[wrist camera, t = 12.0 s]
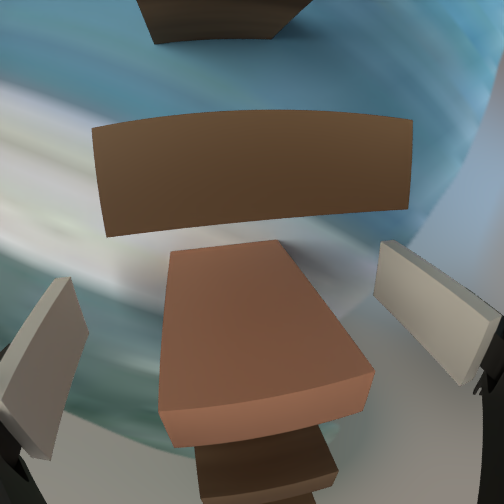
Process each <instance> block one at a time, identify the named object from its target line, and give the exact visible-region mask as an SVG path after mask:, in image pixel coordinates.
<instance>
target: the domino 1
mask: <svg viewBox="0 0 504 504" xmlns="http://www.w3.org/2000/svg"><path fill="white" fill-rule="evenodd" d="M136 1H137V3H138V6H139V8H140V10H141V13H142V15H143V18H144V20H145V23H146V25H147V28H148V30H149V32H150V35H151V37H152V40H153V42H154V44H161V43H170V42H180V41H192V40H208V39H272V38H273V37H274V36H275V35H276V34H277V33H278V32H279V31H280V30H281V29H282V28H283V27H284V26H285V25H286V24H288V23H289V22H290V21H291V20H292V19H293V18H294V17H295V16H296V15H297V14H298V13H299V12H300V11H301V10H303V9H304V8H305V7H306V6H307V5H308V4H309V3H310V2H311V1H313V0H136Z"/></svg>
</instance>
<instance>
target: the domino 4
mask: <svg viewBox="0 0 504 504" xmlns="http://www.w3.org/2000/svg"><path fill="white" fill-rule="evenodd" d="M194 448H195V458H196V466H197V475H198V484H199V491H200V498H201V500H202V502H203V504H262V503H267V502H272V501H277V500H281V499H286V498H290V497H294V496H298V495H302V494H306V493H310V492H314V491H317V490H320V489H324V488H327V487H330V486H332V484H333V482H334V480H335V478H336V476H337V474H338V471H339V470H338V468H337V466H336V464H335V461H334V459H333V457H332V455H331V453H330V451H329V448H328V446H327V444H326V441H325V439H324V437H323V435H322V433H321V430H320V428H319V426H318V425H314V426H310V427H306V428H302V429H298V430H293V431H289V432H284V433H280V434H275V435H270V436H265V437H259V438H254V439H248V440H242V441H235V442H228V443H220V444H212V445H203V446H194Z"/></svg>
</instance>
